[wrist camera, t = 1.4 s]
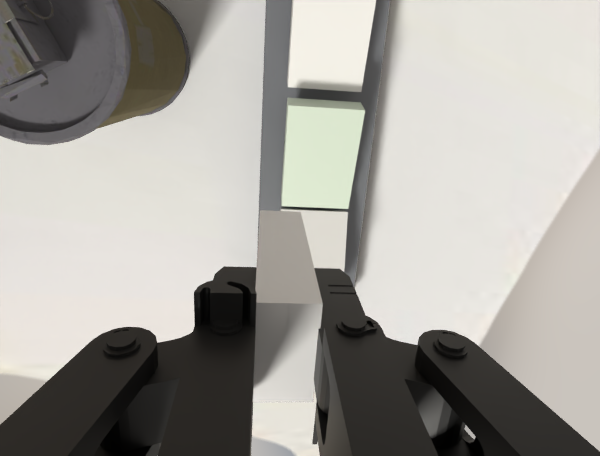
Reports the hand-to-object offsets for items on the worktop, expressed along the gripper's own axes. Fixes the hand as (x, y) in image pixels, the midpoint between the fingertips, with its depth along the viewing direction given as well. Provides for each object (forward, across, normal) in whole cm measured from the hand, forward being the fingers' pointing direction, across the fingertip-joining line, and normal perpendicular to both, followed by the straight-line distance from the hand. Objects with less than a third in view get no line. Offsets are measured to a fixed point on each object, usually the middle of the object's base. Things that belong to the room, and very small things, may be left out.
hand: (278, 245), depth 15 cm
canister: (+27, -13, +7) cm, 30 cm away
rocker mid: (+22, +4, 0) cm, 22 cm away
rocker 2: (+22, +4, -10) cm, 24 cm away
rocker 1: (+22, +4, +10) cm, 24 cm away
